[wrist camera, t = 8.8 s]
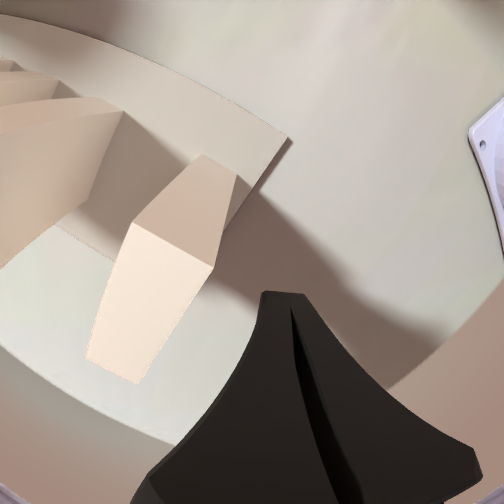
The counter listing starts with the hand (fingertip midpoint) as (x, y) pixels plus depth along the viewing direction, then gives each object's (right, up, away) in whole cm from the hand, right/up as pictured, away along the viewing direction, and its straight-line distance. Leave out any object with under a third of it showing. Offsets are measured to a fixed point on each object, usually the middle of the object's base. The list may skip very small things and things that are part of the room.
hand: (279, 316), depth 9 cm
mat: (-11, +9, 0) cm, 14 cm away
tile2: (-8, +6, +1) cm, 10 cm away
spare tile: (-3, +4, +3) cm, 6 cm away
